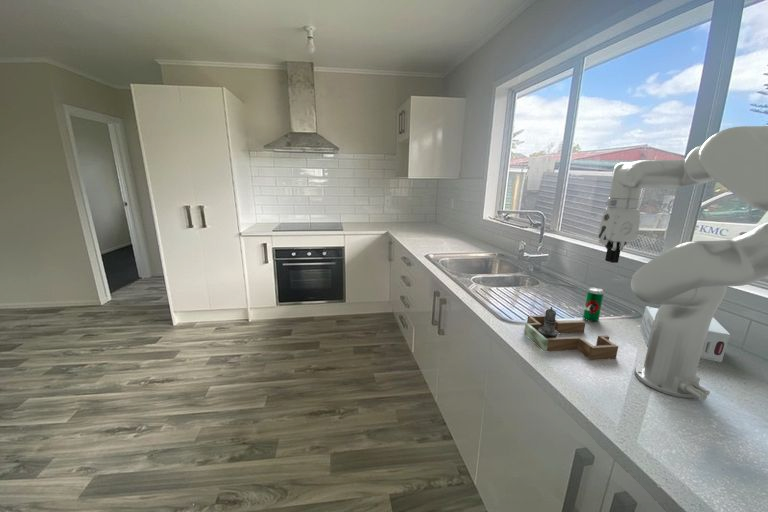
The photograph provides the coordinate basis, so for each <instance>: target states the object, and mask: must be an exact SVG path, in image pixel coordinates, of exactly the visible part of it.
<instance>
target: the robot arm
mask: <svg viewBox="0 0 768 512" xmlns="http://www.w3.org/2000/svg"><path fill="white" fill-rule="evenodd" d="M612 172H613V173H612V178H611V182H610V183H611V184H610V190H609V195H608V200H607V201H606V205H607V206H606V208H605V209H604V211H603V213H602V216H601V217H602V218H601V220H600V224H599V228H598V234H597V235H598V238H599V241H598V244H600V245H603V246H605V249H606V254H605V261H606V262H609V263H611V264H614V263H615V264H618V263H619V260H620V254H621V251H623V249H624V247H625V246H626V245H629V244H631V243H632V242H634V241H636V240H637V238H638V235H639V229H640V221H641V220H640V219H641V218H640V217H641V214H640V213H641V212H640V209H639V203H640V199H641V194H642V190H643V189H677V188H685V187H692V186H694V187H695V186H698V185H704V184H707V183H709V182H714V181H715V182H718V183H719V184H720V185H721V186H723V187H724V188H726V189H727V190H728V191H729V192H730V193H732V194H733V195H734V196H736V197H737V198H738V199H740V200H741V201H742V202H744V203H746V204H747V205H748V206H750V207H753V208H755V209H757V210H760V211H766V212H768V125H767V126H766V125H765V126H764V125H762V126H761V125H760V126H759V125H757V126H756V125H753V126H751V125H748V126H747V125H744V126H743V125H742V126H733V127H728V128H726V129H722V130H720V131H718V132H715V134H713V135H711V136H710V137H709V138H707V140H706V141H704V143H703V144H701V145H699V146H696V147H694V148H693V149H692V150H691V151H690V152H689V153H688V154H687V156H686V158H682V159H654V160H653V159H652V160H651V159H649V160H648V159H645V160H643V159H642V160H635V161H632V162H631V161H629V162H619V163H617V164H616V165H615V166H614V168H613V171H612ZM766 278H768V221H767V222H764V223H763V224H760V225H758V226H757V227H754V228H753V229H751V230H750V231H748V232H746V233H744V234H742V235H738V236H737V237H733V238H730V239H723V240H722V239H721V240H694V241H686V242H683V243H680V244H678V245H675V246H673V247H671V248H669V249H668V250H666V251H664V252H663V253H661V254H659V255H658V256H656V257H654V258H652V259H651V260H650V261H648V262H645V264H644V265H642V266H640V267H639V268H638V269H637V270H636V271H635V273H634V274H633V276H632V277H631V281H630V287H631V291H632V293H633V295H634V296H635V297H636V298H637V299H638V300H640V301H642V302H644V303H647V304H650V305H660V306H659V309H658V311H657V313H656V316H655V320H654V324H653V328H652V332H651V337H650V341H649V345H648V346H647V350H646V353H645V358H644V363H642V364H638V365H636V366H635V367H634V375H635V376H636V377H637V379H639V381H641V382H642V383H643V384H645V385H647V387H650V388H652V389H653V390H656V391H658V392H661V393H663V394H666V395H669V396H673V397H677V398H684V399H693V398H696V399H698V400H699V401H700V402H704V401H706V399H707V398H708V396H709V395H710V393H711V392H710V390H708V389H707V388H705V387H703V386H701V385H700V381H701V377H699V376H698V375H696V374H697V372H698V368H699V363H700V361H701V358H700V357H701V354H702V350H703V347H704V343H705V340H706V336H707V333H708V330H709V326H710V323H711V320H712V318H714V315H715V314H716V311H717V310H718V308H719V306H720V305H721V304H722V302H723V299H724V298H725V295H726V293H727V288H728V287H742V286H743V287H744V286H746V285H750V284H753V283H755V282H759V281H761V280H763V279H766Z"/></svg>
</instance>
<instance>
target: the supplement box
mask: <svg viewBox="0 0 768 512" xmlns="http://www.w3.org/2000/svg"><path fill="white" fill-rule="evenodd" d="M659 308H660V307H659ZM659 308H657V307H652V306H648V305H646V306H645V308H644V309H645V310H644V313H643V317H642V322H641V325H640V329H641V330H640V331H641V335H642V334H643V335H642V337H643V340H644V341H645V345H646V347H648V345H649V341H650V337H651V332H652V328H653V324H654V320H655V316H656V313H657V311H658V309H659ZM730 337H731V334H730V333H729V331H728V330H727V329H725V327H723V325H722V324H720V323H719V321H718V320H716V318H715V317H713V318H712V320H711V323H710V326H709V330H708V333H707V336H706V340H705V343H704V347H703V350H702V354H701V357H700V359H705V360H709V361H714V362H718V363H722V362H723V359H724V355H725V352H726V350H727V346H728V343H729V339H730Z"/></svg>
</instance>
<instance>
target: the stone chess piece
mask: <svg viewBox="0 0 768 512" xmlns="http://www.w3.org/2000/svg"><path fill="white" fill-rule="evenodd" d="M545 310H546V311H545V314H544V315H545V318H544V319H543V320H544V326H543V327H540V328H539V329H538V330H539V333H541V334H542V335H543V336H544V337H545V338H558V335H560V334H559V332H558V331H557V330H555V328H554V326H555V323H556V320H557V319H556V316H557V312H556V310H554V309H553V307H552V306H550V308H548V309H545ZM555 319H556V320H555Z"/></svg>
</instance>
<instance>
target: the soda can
mask: <svg viewBox="0 0 768 512" xmlns="http://www.w3.org/2000/svg"><path fill="white" fill-rule="evenodd" d="M586 291H587V292H586V297H585V301H584V302H585V303H584V307H583V313H582V317H583V319H584V318H585V319H584V320H586V319H587V320H586V321H588V320H589V322H593V323H595V322H598V321H599V320H600V317H601V309H602V304H603V301H604V300H603V299H604V294H605V293H604V290H603V289H602V288H598V287H589V288H588V289H587V290H586Z"/></svg>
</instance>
